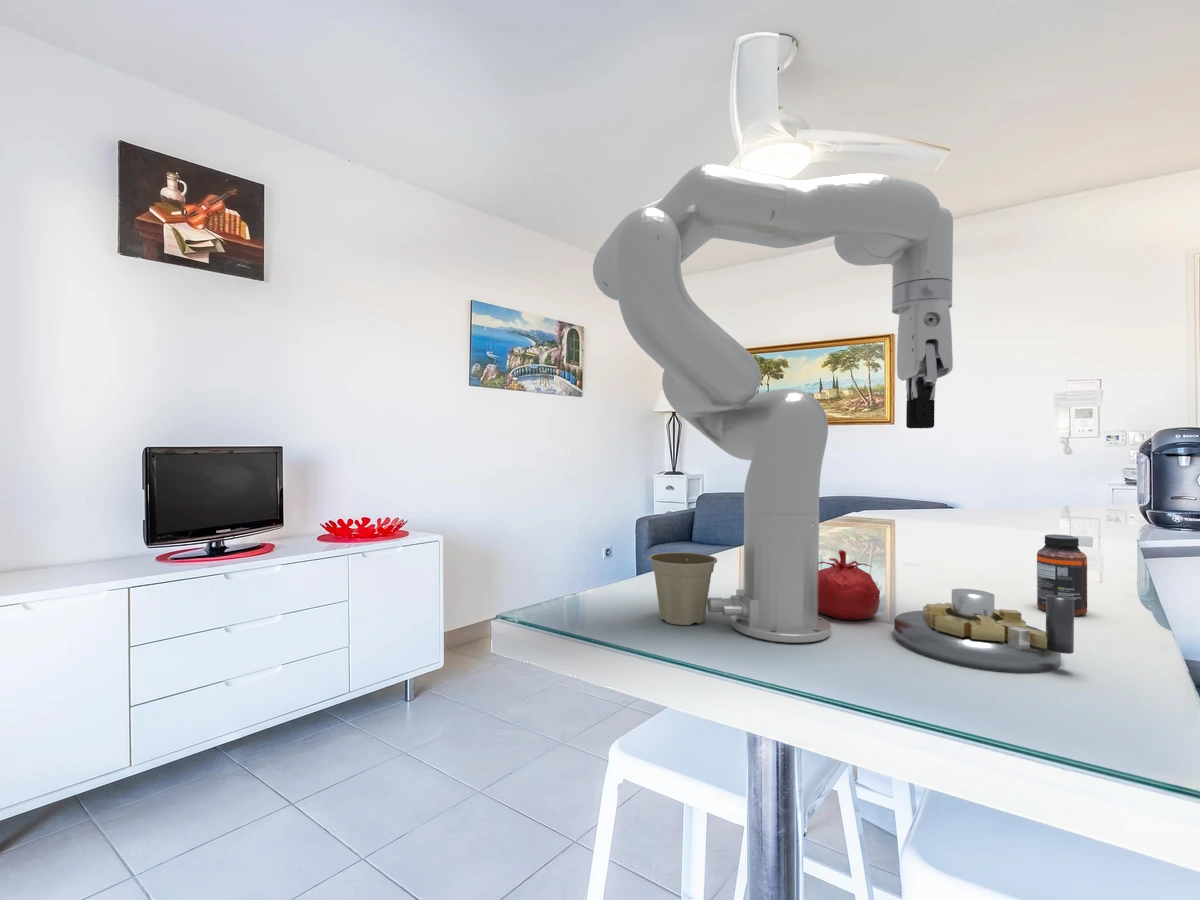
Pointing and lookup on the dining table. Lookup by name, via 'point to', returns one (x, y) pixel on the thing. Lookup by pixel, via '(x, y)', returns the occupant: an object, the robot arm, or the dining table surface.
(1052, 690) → the dining table surface
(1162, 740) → the dining table surface
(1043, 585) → the supplement bottle
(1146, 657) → the dining table surface
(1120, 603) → the dining table surface
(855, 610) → the pomegranate
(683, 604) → the flower pot
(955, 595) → the dark oval platter
